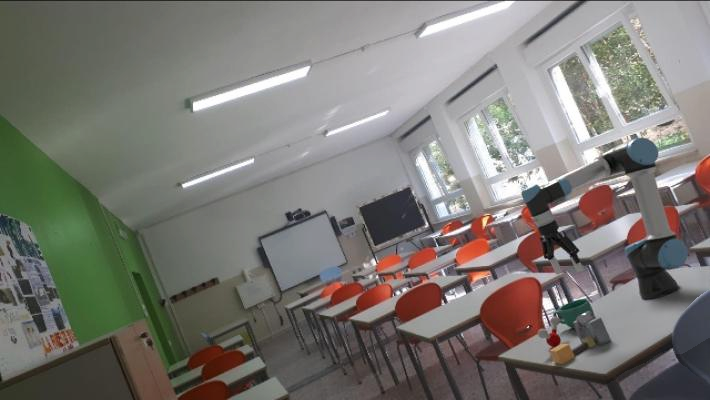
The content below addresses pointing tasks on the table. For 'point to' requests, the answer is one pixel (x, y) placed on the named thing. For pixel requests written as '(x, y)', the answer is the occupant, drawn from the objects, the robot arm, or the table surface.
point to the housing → (591, 328)
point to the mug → (573, 311)
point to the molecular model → (551, 338)
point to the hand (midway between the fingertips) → (569, 272)
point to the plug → (569, 350)
